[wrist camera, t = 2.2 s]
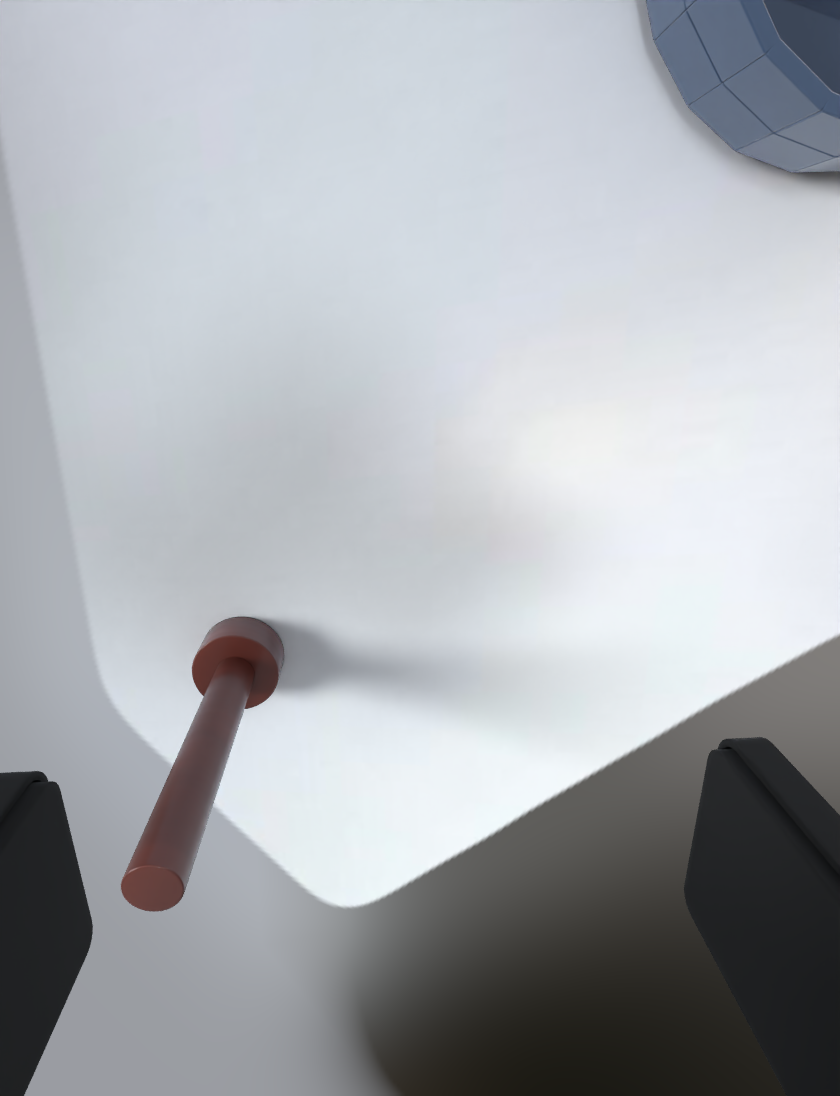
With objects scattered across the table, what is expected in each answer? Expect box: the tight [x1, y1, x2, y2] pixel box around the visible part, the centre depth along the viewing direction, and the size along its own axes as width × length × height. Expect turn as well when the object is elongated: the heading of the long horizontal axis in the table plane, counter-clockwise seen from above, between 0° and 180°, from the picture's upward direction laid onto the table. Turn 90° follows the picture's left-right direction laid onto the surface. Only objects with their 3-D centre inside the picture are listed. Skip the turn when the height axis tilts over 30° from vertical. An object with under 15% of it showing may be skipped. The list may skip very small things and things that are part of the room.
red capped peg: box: [121, 617, 284, 911], centre depth 25 cm, size 4×4×14 cm
